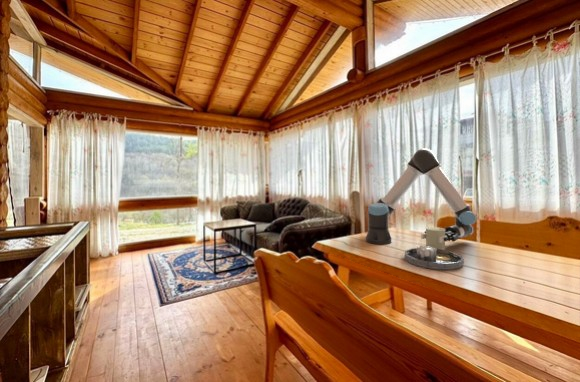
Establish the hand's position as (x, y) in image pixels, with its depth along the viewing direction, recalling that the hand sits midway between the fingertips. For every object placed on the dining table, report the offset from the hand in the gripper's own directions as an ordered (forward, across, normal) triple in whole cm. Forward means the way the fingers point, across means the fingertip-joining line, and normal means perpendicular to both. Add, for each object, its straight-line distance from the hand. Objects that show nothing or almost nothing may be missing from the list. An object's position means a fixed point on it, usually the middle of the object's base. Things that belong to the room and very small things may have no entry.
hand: (430, 238), depth 137 cm
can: (-5, 0, -7) cm, 9 cm away
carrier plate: (+13, -9, -7) cm, 18 cm away
